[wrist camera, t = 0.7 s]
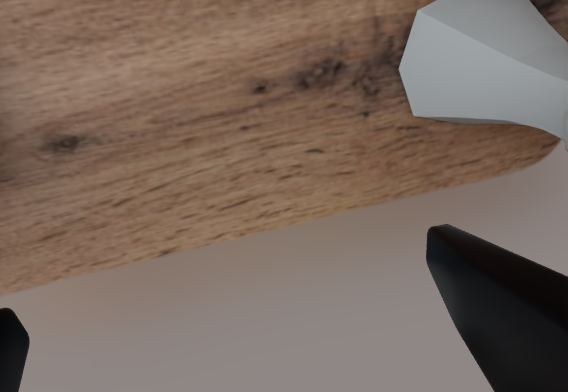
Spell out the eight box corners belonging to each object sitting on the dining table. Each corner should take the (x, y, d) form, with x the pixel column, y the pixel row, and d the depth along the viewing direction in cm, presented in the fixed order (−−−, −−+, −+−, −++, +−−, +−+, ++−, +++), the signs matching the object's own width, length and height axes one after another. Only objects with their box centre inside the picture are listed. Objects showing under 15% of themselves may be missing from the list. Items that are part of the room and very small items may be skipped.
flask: (516, 112, 24) (683, 194, 15) (395, 132, 23) (496, 228, 15) (540, -29, 20) (776, -26, 12) (397, -8, 20) (532, 11, 11)
